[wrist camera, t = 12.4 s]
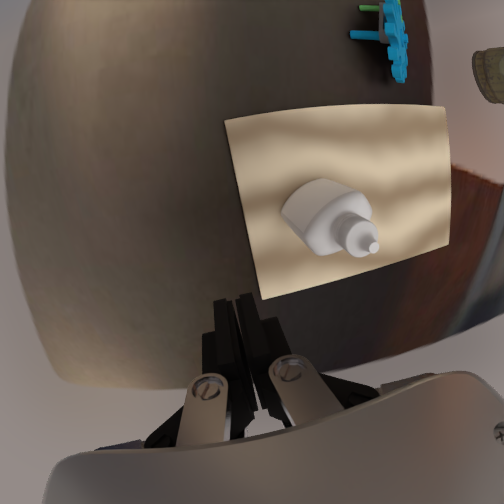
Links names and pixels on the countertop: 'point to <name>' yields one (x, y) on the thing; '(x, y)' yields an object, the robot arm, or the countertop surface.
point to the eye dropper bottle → (331, 218)
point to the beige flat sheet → (344, 172)
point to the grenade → (490, 73)
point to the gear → (389, 35)
